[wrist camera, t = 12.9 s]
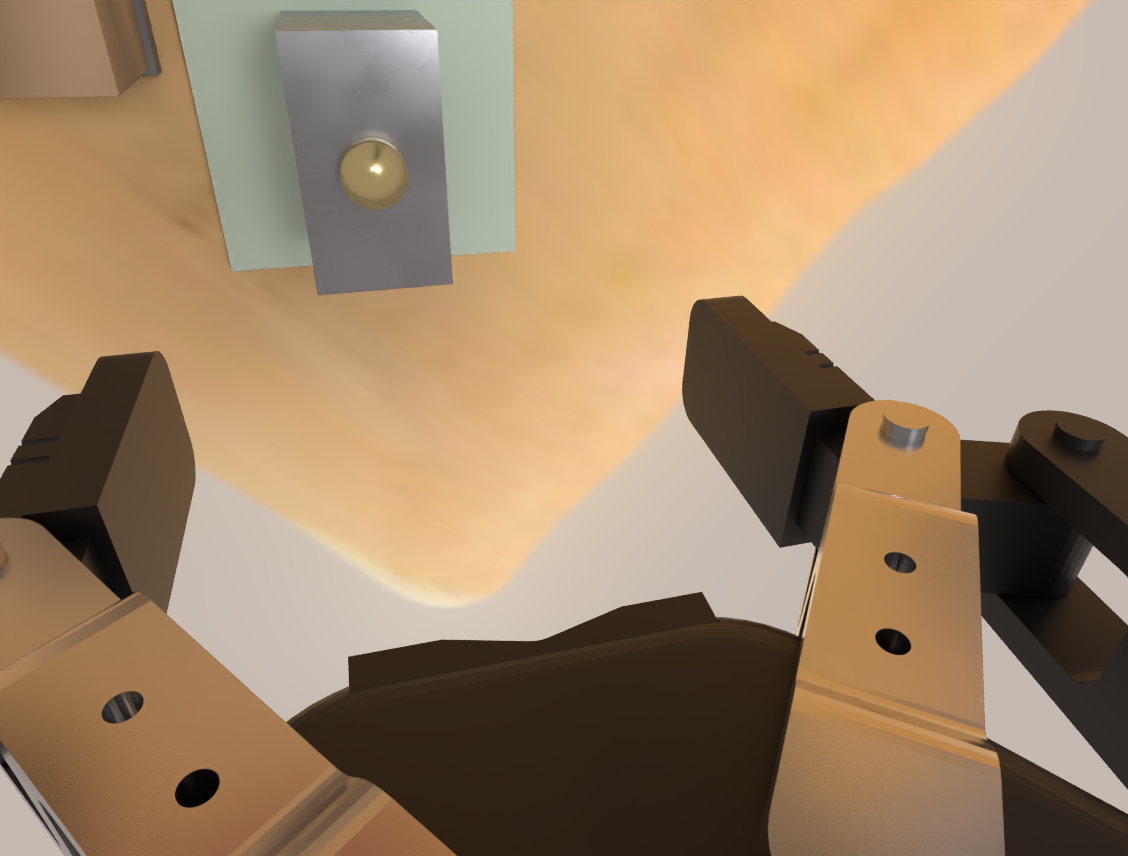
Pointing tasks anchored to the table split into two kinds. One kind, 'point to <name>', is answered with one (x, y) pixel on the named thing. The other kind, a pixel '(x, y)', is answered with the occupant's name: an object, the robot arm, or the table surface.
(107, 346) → the table surface
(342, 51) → the block with brass knob
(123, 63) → the body
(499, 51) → the mat
